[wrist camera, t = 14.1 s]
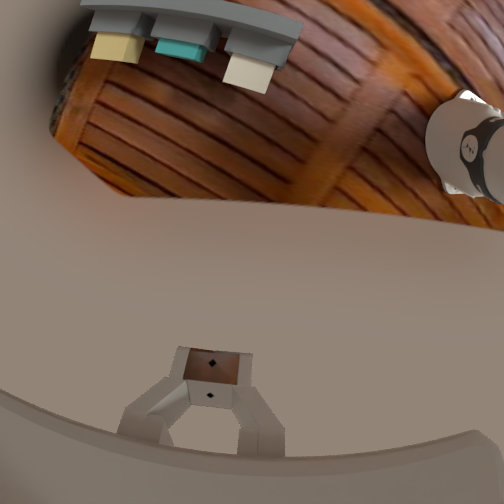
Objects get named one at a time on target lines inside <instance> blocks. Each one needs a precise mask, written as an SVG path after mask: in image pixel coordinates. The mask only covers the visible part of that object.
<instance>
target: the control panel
mask: <svg viewBox="0 0 504 504" xmlns="http://www.w3.org/2000/svg"><path fill="white" fill-rule="evenodd" d="M80 5H81V6H84V7H87V8H90V9H93V10H96V11H95V14H94V17H93V20H92V23H91V26H90V29H89V31H91V32H96V33H98V32H112V33H125V34H133V35H136V36H139V37H141V38H144V39H145V40H150V41H154V38H157V39H160V38H166V39H172V40H178V41H183V42H189V43H194V44H199V45H202V46H203V47H205V48H206V49H208V50H207V51H210V52H214V53H215V51H216V49H217V46H218V43H219V40H220V38H221V37H225V38H228V41H227V43H226V46H225V49H224V50H225V51H226V52H227V53H228V54H229V55H230V56H232V54H233V53H237V54H240V55H244V56H247V57H251V58H254V59H258V60H261V61H264V62H267V63H270V64H274V65H276V66H275V69H274V70H277V71H280V72H281V71H282V69H283V68H284V65H285V63H286V60H287V57H288V55H289V53H290V51H291V50H292V48H293V46H294V45H295V43H296V41H297V40H298V37H299V34H300V32H301V29H302V27H303V24H304V23H302V22H299V21H296V20H293V19H290V18H287V17H284V16H281V15H277V14H274V13H271V12H267V11H264V10H260V9H256V8H252V7H248V6H244V5H240V4H236V3H231V2H227V1H222V0H82V1H81V3H80Z"/></svg>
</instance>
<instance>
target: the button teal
mask: <svg viewBox="0 0 504 504" xmlns="http://www.w3.org/2000/svg"><path fill="white" fill-rule="evenodd" d="M207 50H208V49H206V48H205V47H203V46H202V45H199V44H194V43H189V42H183V41H178V40H172V39H166V38H160V39H159V41H158V44H157V47H156V51H155V52H157V53H160V54H163V55H167V56H171V57H177V58H182V59H187V60H191V61H196V62H200V63H203V61H204V58H205V56H206V53H207Z"/></svg>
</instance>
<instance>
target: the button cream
mask: <svg viewBox="0 0 504 504" xmlns="http://www.w3.org/2000/svg"><path fill="white" fill-rule="evenodd" d="M275 66H276V65H274V64H270V63H267V62H264V61H261V60H258V59H254V58H251V57H247V56H244V55H240V54H237V53H233V54H232V56H231V59H230V62H229V65H228V67H227V70H226V73H225V76H224V79H223V82H226V83H229V84H233V85H236V86H240V87H243V88H247V89H250V90H253V91H256V92H259V93H263V94H265V93H266V90H267V88H268V85H269V82H270V79H271V77H272V74H273V71H274V69H275Z"/></svg>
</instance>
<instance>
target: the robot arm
mask: <svg viewBox="0 0 504 504" xmlns="http://www.w3.org/2000/svg"><path fill="white" fill-rule="evenodd" d="M470 98H471V100H470ZM500 113H501V110H500V109H498V108H496V107H494V108H492V106H491V105H488V104H487V103H485V102H484V101H483V100H481V99H480V98H479V97H477V96H476V95H474V94H473V93H472V92H470V91H469V90H465V89H463V90H461V91H460V92H459V93H458V94H457V95H456V97H455V98H454V99H452V100H450V101H447V102H445V103H443V104H442V105H440V106H439V107H438V108H437V109H436V110H435V111H434V113H433V114H432V116H431V118H430V120H429V122H428V125H427V129H426V136H425V145H426V152H427V155H428V159H429V161H430V163H431V165H432V167H433V168H434V170H435V171H436V172H437V173H438V175H439V176H440V178H441V182H442V186H443V189H444V191H445V192H447V193H449V194H466V195H468V196H470V197H472V198H474V197H475V196H477V197H480V196H485V197H486V198H488V199H489V200H491V201H494V202H496V203H498V204H503V205H504V113H503V112H502V113H501V114H500ZM252 366H253V354H250V353H240V352H227V351H212V350H203V349H197V348H189V347H182V346H179V347H178V348H177V350H176V353H175V357H174V360H173V364H172V367H171V370H170V374H169V377H164V378H163V379H162V380H160V381H159V382H158V383H157V384H155V385H154V386H153V387H151V388H150V389H149V390H148V391H147V392H145V393H144V394H142V395H141V396H140V397H139V398H137V399H136V400H135V401H133V402H132V403H131V404H129V405H128V406H127V407H126V408H125V410H124V413H123V415H122V418H121V421H120V424H119V427H118V430H117V433H112V432H109V431H105V430H102V429H98V428H95V427H92V426H89V425H86V424H83V423H80V422H77V421H74V420H71V419H68V418H66V417H63V416H60V415H58V414H55V413H53V412H50V411H48V410H45V409H43V408H40V407H38V406H36V405H33V404H31V403H29V402H27V401H24V400H22V399H20V398H18V397H15V396H14V395H12V394H10V393H8V392H6V391H3V390H2V389H0V504H504V460H503V457H502V454H501V451H500V449H499V447H498V446H497V444H495V443H494V442H493V441H492V440H491V439H489V438H488V437H487V436H485V435H484V434H483V433H481V432H480V431H478V430H469V431H466V432H462V433H459V434H456V435H452V436H448V437H444V438H440V439H437V440H432V441H428V442H423V443H419V444H414V445H409V446H403V447H398V448H392V449H386V450H379V451H371V452H364V453H354V454H343V455H330V456H305V457H285V428H284V427H283V425H282V424H281V423H280V421H279V420H278V419H277V417H276V416H275V414H274V413H273V412H272V410H271V409H270V407H269V406H268V405H267V403H266V402H265V400H264V399H263V398H262V396H261V395H260V394H259V392H258V391H257V389H256V388H255V387H251V383H252ZM190 405H197V406H207V407H216V408H224V409H232V411H233V413H234V415H235V417H236V419H237V420H238V422H239V424H240V426H241V429H240V430H239V439H238V448H237V450H238V451H237V455H236V454H225V453H214V452H207V451H199V450H192V449H186V448H180V447H174V444H173V442H172V439H171V436H170V434H169V431H168V429H169V428H170V427H171V426H172V425H173V424H174V423H175V422H176V421H177V420H178V419H179V418H180V417H181V416H182V415H183V413H184V412H185V411H186V410H187V409H188V408H189V407H190Z"/></svg>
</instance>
